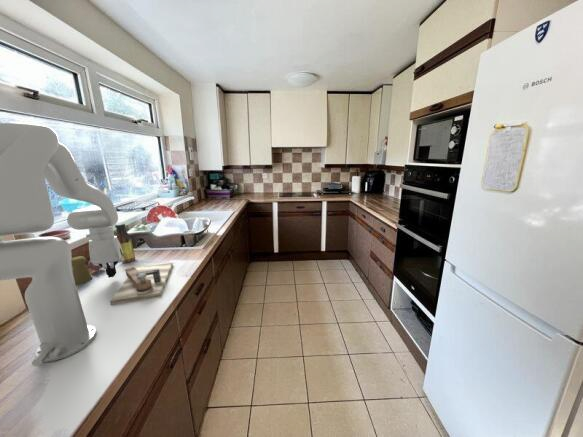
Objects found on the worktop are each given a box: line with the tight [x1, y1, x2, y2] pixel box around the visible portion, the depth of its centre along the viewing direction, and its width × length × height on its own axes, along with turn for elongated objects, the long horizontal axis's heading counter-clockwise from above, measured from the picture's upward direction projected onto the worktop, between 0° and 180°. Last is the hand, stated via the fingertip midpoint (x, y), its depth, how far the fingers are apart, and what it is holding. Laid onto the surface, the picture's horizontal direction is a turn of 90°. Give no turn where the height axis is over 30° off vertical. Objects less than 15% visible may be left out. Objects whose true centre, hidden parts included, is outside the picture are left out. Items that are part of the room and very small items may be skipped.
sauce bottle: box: [114, 222, 136, 264], centre depth 118 cm, size 7×6×20 cm
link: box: [124, 266, 152, 292], centre depth 95 cm, size 22×5×6 cm, turn 48°
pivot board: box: [109, 262, 174, 306], centre depth 99 cm, size 28×16×6 cm, turn 18°
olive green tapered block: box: [72, 255, 93, 285], centre depth 100 cm, size 6×6×11 cm
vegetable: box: [87, 259, 103, 272], centre depth 109 cm, size 6×6×10 cm
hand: (112, 275), depth 100 cm, fingers closed
